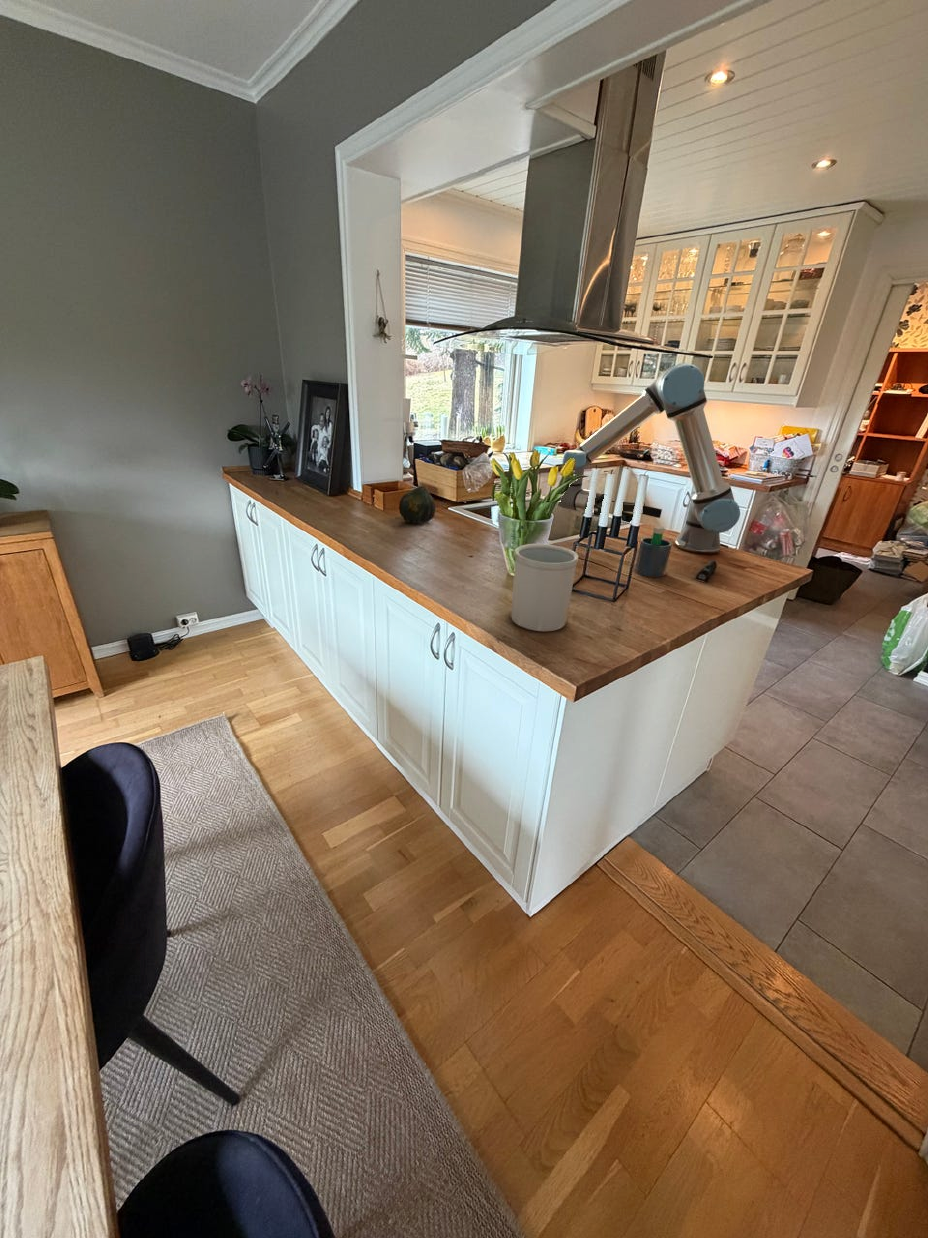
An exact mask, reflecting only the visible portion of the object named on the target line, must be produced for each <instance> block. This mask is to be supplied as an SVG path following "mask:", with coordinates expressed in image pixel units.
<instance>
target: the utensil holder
mask: <svg viewBox="0 0 928 1238" xmlns="http://www.w3.org/2000/svg"><path fill="white" fill-rule="evenodd" d="M514 559H515V560H514V572H513V584H512V597H511V598H512V599H511V611H510V615H511V617H510V618H511V620H512V622H514V624H515V625H517V626H519V627H521V628H523V629H527V630H529V631H533V632H553V631H557V630H560V629H562V628H563V627H564V626H566V624H567V620H568V615H569V609H570V603H571V598H572V592H573V585H574V580H575V575H576V574H575V573H576V570H577V569H576V568H577V564H578V562H579V554H578V553H577V552H576V551H574V550H572V549H569V548H568V547H567V548H566V547H563V546H559V545H555V544H547V543H529V544H523V545H520V546H518V547H516V548H515V550H514Z"/></svg>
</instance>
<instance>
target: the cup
mask: <svg viewBox="0 0 928 1238" xmlns="http://www.w3.org/2000/svg"><path fill="white" fill-rule="evenodd" d="M651 541H652V537H643V538H641V539H640V543H639V549H638V551H637V552H638V553H637V558H636V563H635V567H634V572H636V573H637V574H639V575H641V576H643V577H650V578H661V577H664V576H665V575H666V571H667V567H668V562H669V558H670V554H671V550H672V542H671V541H669V540H666V539H663V538H662V540H661V545H660V546H655V545H651Z"/></svg>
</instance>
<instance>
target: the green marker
mask: <svg viewBox="0 0 928 1238" xmlns="http://www.w3.org/2000/svg"><path fill="white" fill-rule="evenodd" d="M664 532H665V526H660V525H656V526H654V528H653V533H652V537H651V538H652V541H651V545H655V546H660V545H661V540H662V539H663V535H664Z"/></svg>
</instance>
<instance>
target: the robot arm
mask: <svg viewBox="0 0 928 1238" xmlns="http://www.w3.org/2000/svg"><path fill="white" fill-rule="evenodd" d="M707 403H708V400H707V396H706V393H705V377H704V374H703V372H702V370H701V369H700V368H699V367H697V366H696V365H694V364H692V363H690V362H689V363H688V362H687V363H686V362H682V363H678V364H676V365H672V366H670V367H667V368H666V369H665V370H664V371H663V372H662V373H661V374H660V375H659V376H657V378H656V379H655V380H654V381H652V383H651V384H650V385H648V386H647V387H646V388H645V389H644V390H643V392H642V395H641V396H639V398H637V399H636V400H634V402H632V403H631V404H630V405H628V406H627V407H626V408H625V409H623V410H622V411H621V412H620V413H618V414H617V415H616V416H615V417H613V418H612V419H611V420H609V422H607V423H606V424H605V425H604V426H602V427H601V428H600V429H598V430H597V431H596V432H594V434H592V435H591V436H589V438H587V439H586V440H585V441H584V442H581V444H580V445H578V447H576V448H575V449H569V450H565V451H564V453H563V457H562V466H563V465H565V463H566V462H567V461H568V460H569V459H570V458H574V459H575V473H576V474H577V475H583V477H581V478H580V479H578V480H577V481H575V482H574V483H572V484H571V485H570V487H569V488H568V490H567V491H566V492H565V493H564V495H563V496H562V498H561V502H559V504H558V506H557V507H560V508H562V509H567V510H571V511H576V512H579V513H581V514H582V515H585V514H586V513H585V509H586V507H587V502H588V496H589V491H590V490H588V489H584V488H583V487H582V486H583V480H584V474H585V469H586V468H587V467H588V466H590V465H591V464H592V463H593V462H594V461H596V460H597V459H598V458H600V457H601V456H603V454H605V453H606V452H607V451H609V450H610V449H612V448H613V447H614V446H616V445H617V444H618V443H619V442H620V441H622V440H623V439H625V438H626V437H627V436H628V435H630V434H631V433H632V432H633V431H635V430H636V429H637V428H640V426H642V425H643V424H644V423H646V422H647V421H648V420H649V419H651V418H652V417H653V416H654V415H661V414H662V413H664V412H665V413H666V414H665V415H666V418H667V419H668V420H671V421H672V422H674V426H675V429H676V432H677V436H678V439H679V443H680V445H681V448H682V449H681V450H682V452H683V456H684V459H685V462H686V466H687V469H688V472H689V475H690V476H689V477H690V478H691V482H692V486H693V490H692V492H691V498H690V502H689V507H688V511H687V514H686V519H685V523H684V526H683V527H682V529H681V530H680V532H679V533H678V536H677V537H676V539H675V542H674V546H675V547H676V548H678V549H680V550H683V551H684V552H685V551H686V552H688V553H693V554H700V555H701V554H703V555H714V554H717V553H719V552H720V549H721V547H723V548H726V549H728V548H729V545H727V544H724V543H721V537H720V535H721V534H722V533H725V532H727V531H729V530H731V529H732V528H734V527H735V526H736V524H737V523H738V521H739V519H740V517H741V509H740V506H739V504H738V502H736V501H735V497H734V494H733V491H732V487H731V484H730V483H728V482H725V481H724V479H723V475H722V471H721V468H720V464H719V460H718V457H717V453H716V449H715V446H714V442H713V439H712V435H711V432H710V428H709V425H708V421H707V417H706V414H705V410H704V409H705V406H706V405H707ZM562 466H561V467H562ZM595 492H596V491H595ZM604 495H606V494H605V493H602V492H598V491H597V492H596V498H595V505H594V515H593V516H594V517H600V516H599V515H600V513H601V507H602V501H603V499H604ZM611 500H612V499H611ZM623 501H624V500H623ZM612 502H615V500H612ZM635 503H636V502H633V501H624V502H623V511H622V521H621V522H624V523H628V524H631V523H630V521H631V520H632V517H633V514H634V512H633V509H634V506H635ZM662 511H663V508H658V507H654V506H649V505H646V503H645V502H644V506H643V513H642V514H641V515H645V516H647V517H654V518H658V519H660V518H661V516H662Z"/></svg>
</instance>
